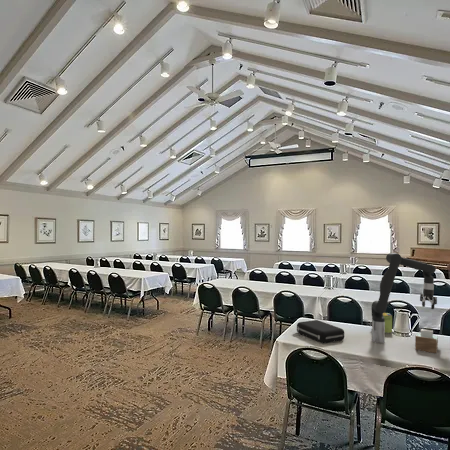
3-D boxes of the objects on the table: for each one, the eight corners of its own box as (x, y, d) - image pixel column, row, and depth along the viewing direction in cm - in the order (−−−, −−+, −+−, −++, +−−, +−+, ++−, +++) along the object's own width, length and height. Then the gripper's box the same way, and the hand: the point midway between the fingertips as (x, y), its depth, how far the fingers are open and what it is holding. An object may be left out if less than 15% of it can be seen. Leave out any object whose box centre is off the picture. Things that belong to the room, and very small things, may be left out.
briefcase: (351, 340, 297) (351, 328, 297) (322, 345, 283) (322, 332, 283) (322, 328, 329) (322, 318, 329) (294, 332, 316) (294, 321, 316)
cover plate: (436, 342, 267) (436, 334, 267) (415, 338, 275) (415, 331, 275) (437, 337, 279) (437, 329, 279) (417, 334, 287) (417, 326, 287)
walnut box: (436, 353, 266) (436, 339, 266) (415, 349, 274) (415, 336, 274) (437, 347, 279) (437, 334, 279) (417, 344, 287) (417, 331, 287)
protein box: (392, 333, 318) (392, 315, 318) (374, 331, 321) (374, 314, 321) (389, 329, 328) (389, 313, 328) (371, 328, 331) (371, 312, 331)
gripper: (417, 287, 300) (417, 306, 300) (432, 290, 286) (432, 310, 286) (424, 286, 302) (424, 305, 302) (439, 289, 289) (439, 309, 289)
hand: (428, 307), depth 294 cm, fingers open, 8 cm apart
